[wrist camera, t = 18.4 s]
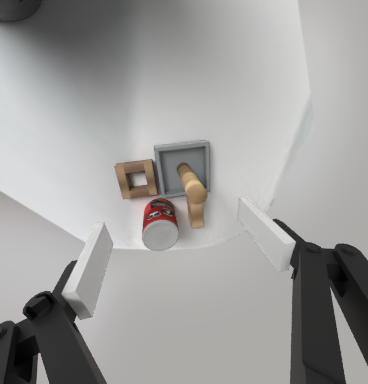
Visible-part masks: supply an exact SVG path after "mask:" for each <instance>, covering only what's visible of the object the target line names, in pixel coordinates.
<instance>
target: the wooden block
mask: <svg viewBox="0 0 368 384" xmlns="http://www.w3.org/2000/svg"><path fill="white" fill-rule="evenodd" d="M187 204H188V216H189V221H190V224H191V226H192V229H194V228H200V227H204V225H203V203H201V204H198V205H195V204H192V203H191V202H190V201H189V199H188V197H187Z"/></svg>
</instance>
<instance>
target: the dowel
mask: <svg viewBox="0 0 368 384" xmlns="http://www.w3.org/2000/svg"><path fill="white" fill-rule="evenodd" d="M177 172H178V175H179V177H180V180H181V182H182V184H183V187H184V189H185V192H186V194H187V197H188V199H189V201H190V202H191V203H192V204H195V205H198V204H201V203H203V202H204V201H205V200H206V198H207V192H206V190H205V188H204V187H203V185H202V184H201V183H200V181H199V180H198V178H197V177H196V175H195V174H194V172H193V171H192V169H191V168H190V166H189V165H188V164H187V163H184V162H183V163H180V164H179V165H178V166H177Z"/></svg>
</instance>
